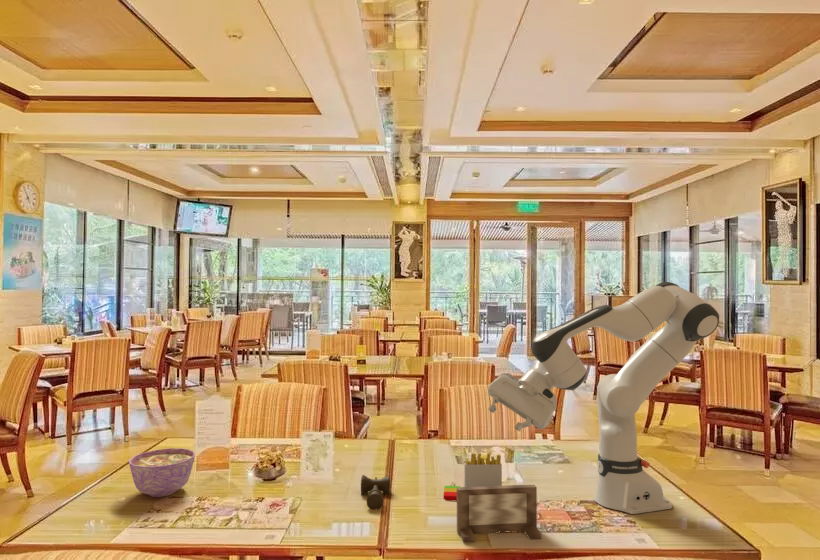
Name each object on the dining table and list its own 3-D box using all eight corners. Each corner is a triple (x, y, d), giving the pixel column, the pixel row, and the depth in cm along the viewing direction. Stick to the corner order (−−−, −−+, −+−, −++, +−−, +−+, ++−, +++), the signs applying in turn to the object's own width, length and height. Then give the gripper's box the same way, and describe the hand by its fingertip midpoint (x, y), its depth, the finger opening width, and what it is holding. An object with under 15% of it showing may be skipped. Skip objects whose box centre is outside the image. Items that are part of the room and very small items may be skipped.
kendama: (358, 512, 165) (361, 486, 185) (390, 512, 165) (389, 486, 185) (359, 492, 165) (361, 468, 184) (391, 492, 165) (390, 468, 185)
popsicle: (443, 501, 172) (443, 495, 172) (445, 484, 187) (445, 479, 187) (460, 502, 172) (460, 496, 172) (461, 485, 187) (461, 479, 187)
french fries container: (463, 508, 165) (463, 449, 166) (499, 508, 166) (498, 449, 166) (465, 515, 161) (465, 454, 161) (501, 514, 161) (501, 453, 161)
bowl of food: (155, 479, 191) (155, 446, 191) (207, 483, 187) (207, 449, 187) (113, 501, 171) (114, 464, 172) (170, 506, 167) (170, 468, 167)
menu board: (534, 527, 152) (534, 484, 153) (542, 539, 145) (542, 493, 146) (456, 531, 150) (456, 487, 150) (461, 543, 143) (461, 497, 143)
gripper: (504, 364, 168) (475, 394, 162) (561, 400, 156) (532, 434, 150) (504, 376, 172) (476, 406, 166) (560, 412, 160) (532, 445, 154)
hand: (503, 419), depth 158 cm, fingers open, 8 cm apart
